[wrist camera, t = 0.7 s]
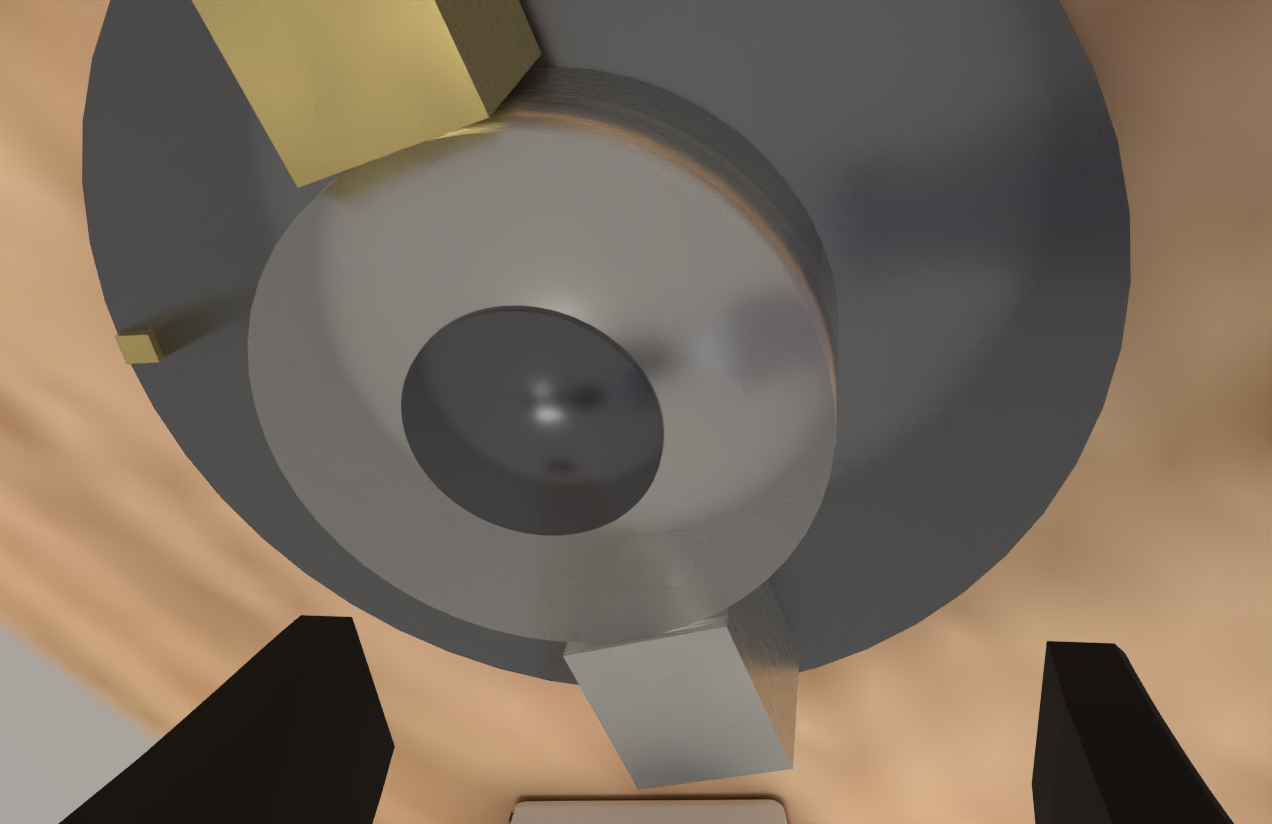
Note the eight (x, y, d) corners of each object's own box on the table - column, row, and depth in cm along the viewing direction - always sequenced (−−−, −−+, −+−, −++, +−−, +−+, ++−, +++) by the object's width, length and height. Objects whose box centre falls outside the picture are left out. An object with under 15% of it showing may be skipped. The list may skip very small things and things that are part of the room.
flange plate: (799, -615, 14) (793, -646, 12) (1259, 471, 21) (1288, 529, 19) (-65, 99, 21) (-130, 129, 20) (492, 724, 28) (473, 780, 27)
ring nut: (512, -310, 15) (435, -305, 12) (1013, 576, 21) (1035, 707, 18) (69, 43, 18) (-64, 106, 16) (611, 705, 25) (581, 830, 22)
